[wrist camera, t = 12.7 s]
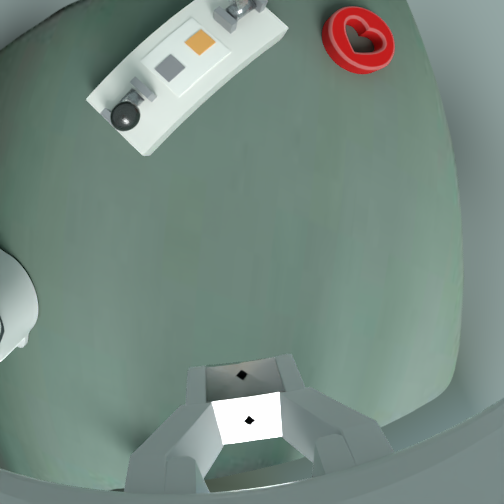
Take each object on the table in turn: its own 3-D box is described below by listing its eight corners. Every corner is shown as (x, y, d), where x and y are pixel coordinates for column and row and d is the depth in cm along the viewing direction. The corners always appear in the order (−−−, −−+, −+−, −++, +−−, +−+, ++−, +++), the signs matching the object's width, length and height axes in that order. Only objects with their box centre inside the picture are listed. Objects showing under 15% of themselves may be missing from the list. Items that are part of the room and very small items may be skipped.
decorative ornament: (318, 64, 34) (326, 58, 31) (323, 5, 32) (331, -4, 29) (383, 82, 36) (395, 78, 33) (385, 25, 33) (396, 19, 30)
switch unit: (149, 155, 35) (137, 156, 29) (97, 104, 32) (77, 96, 26) (281, 38, 33) (293, 20, 26) (227, -9, 30) (230, -33, 24)
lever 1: (125, 120, 30) (121, 144, 19) (111, 107, 29) (98, 124, 18) (145, 99, 30) (151, 112, 19) (131, 87, 28) (129, 91, 18)
